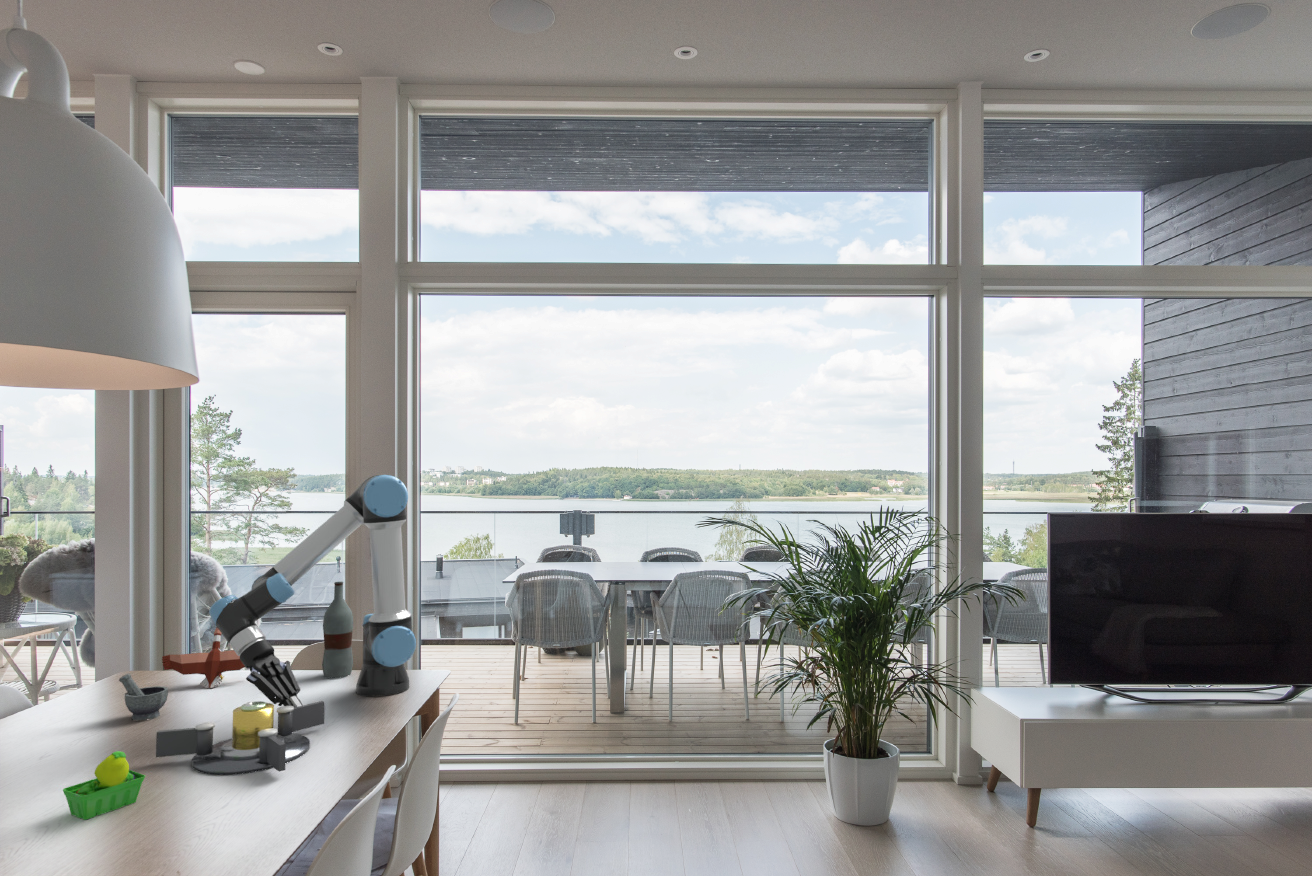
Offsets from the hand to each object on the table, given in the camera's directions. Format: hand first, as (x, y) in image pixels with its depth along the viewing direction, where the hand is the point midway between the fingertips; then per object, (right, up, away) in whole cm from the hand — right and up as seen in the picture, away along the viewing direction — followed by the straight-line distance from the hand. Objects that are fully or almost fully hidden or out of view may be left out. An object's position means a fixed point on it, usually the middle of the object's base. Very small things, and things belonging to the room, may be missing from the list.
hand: (303, 719), depth 189 cm
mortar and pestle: (-49, -4, +12) cm, 51 cm away
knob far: (-18, -1, -19) cm, 26 cm away
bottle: (-15, -6, +54) cm, 57 cm away
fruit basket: (-18, -1, -44) cm, 47 cm away
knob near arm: (0, -2, -3) cm, 3 cm away
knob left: (+5, 0, -25) cm, 26 cm away
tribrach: (-5, -2, -15) cm, 16 cm away
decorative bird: (-49, -6, +45) cm, 67 cm away
